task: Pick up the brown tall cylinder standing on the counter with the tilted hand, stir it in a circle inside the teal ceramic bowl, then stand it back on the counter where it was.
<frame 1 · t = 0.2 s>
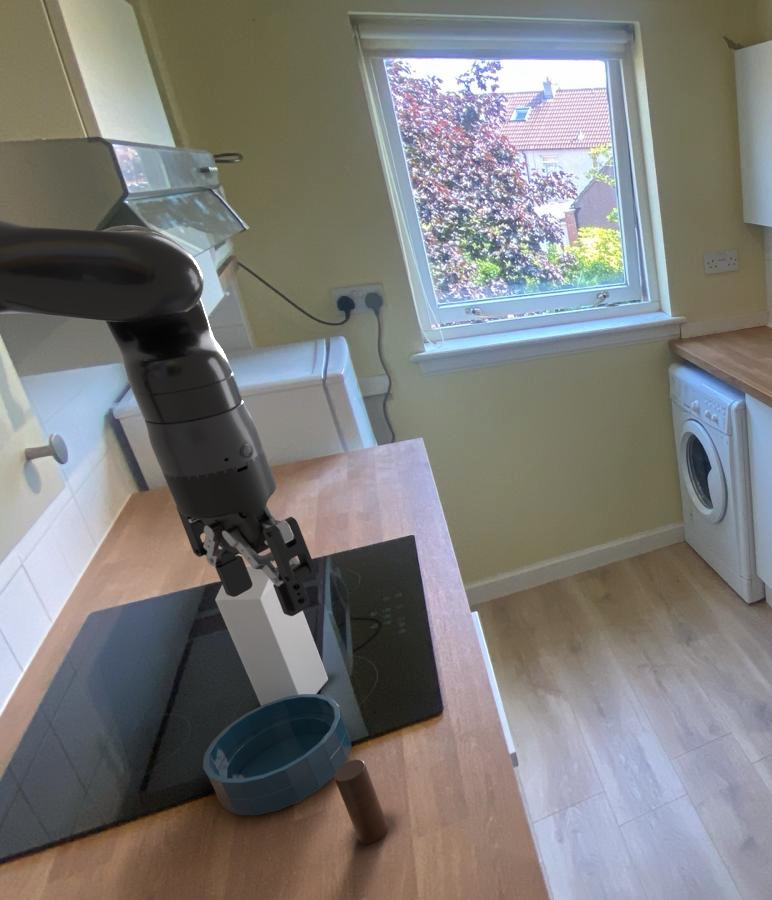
hand: (269, 601, 73), 31 cm above the worktop, tool pointing down, fingers open, 8 cm apart
brown tall cylinder: (373, 832, 85), on the worktop
bowl: (289, 770, 93), on the worktop
milk: (296, 695, 106), on the worktop
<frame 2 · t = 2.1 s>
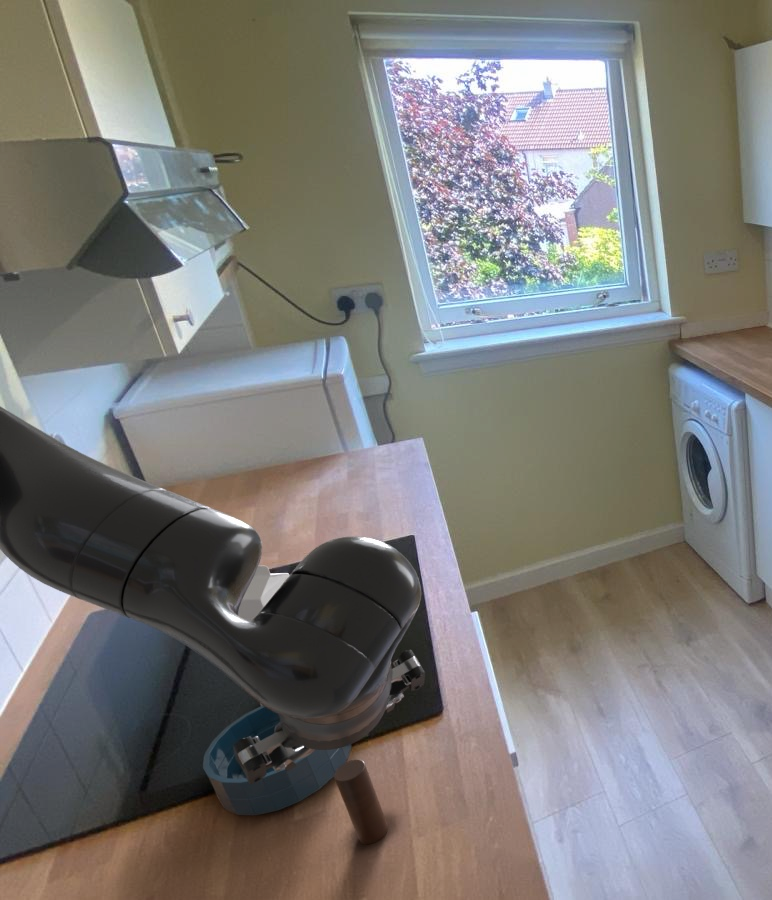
hand: (336, 729, 68), 23 cm above the worktop, tool tilted 45°, fingers open, 8 cm apart
nothing on the worktop moved.
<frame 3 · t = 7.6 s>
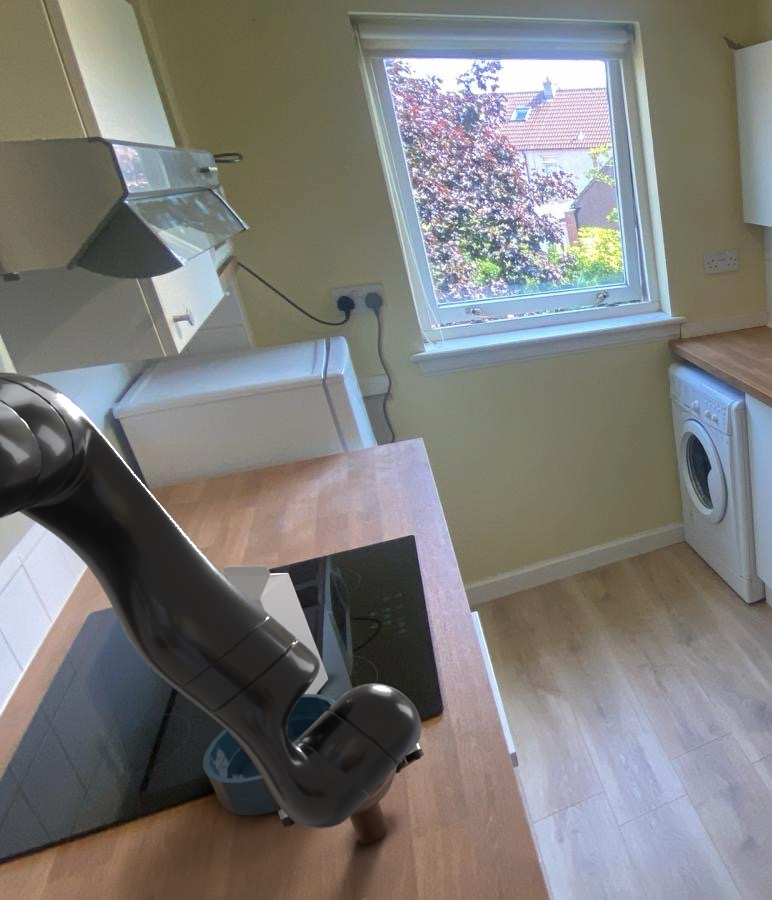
hand: (354, 785, 83), 6 cm above the worktop, tool tilted 45°, fingers closed on brown tall cylinder, 3 cm apart
brown tall cylinder: (373, 832, 85), on the worktop, touching gripper
everything else where it was.
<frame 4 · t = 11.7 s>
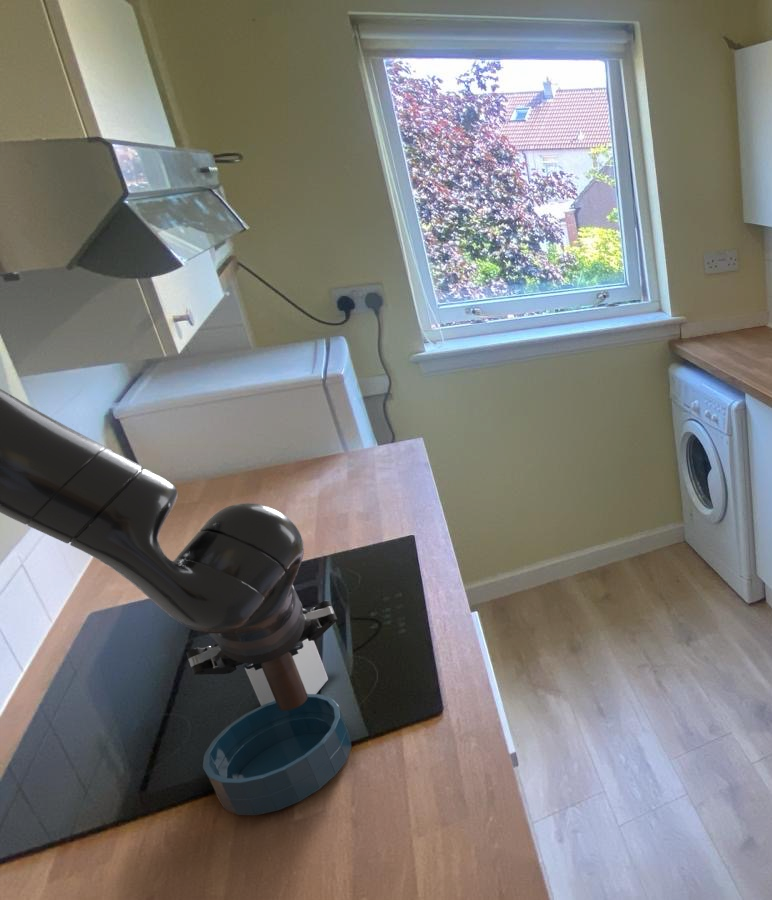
hand: (274, 654, 87), 18 cm above the worktop, tool tilted 45°, fingers closed on brown tall cylinder, 3 cm apart
brown tall cylinder: (293, 701, 88), point 12 cm above the worktop, touching gripper
everything else where it was.
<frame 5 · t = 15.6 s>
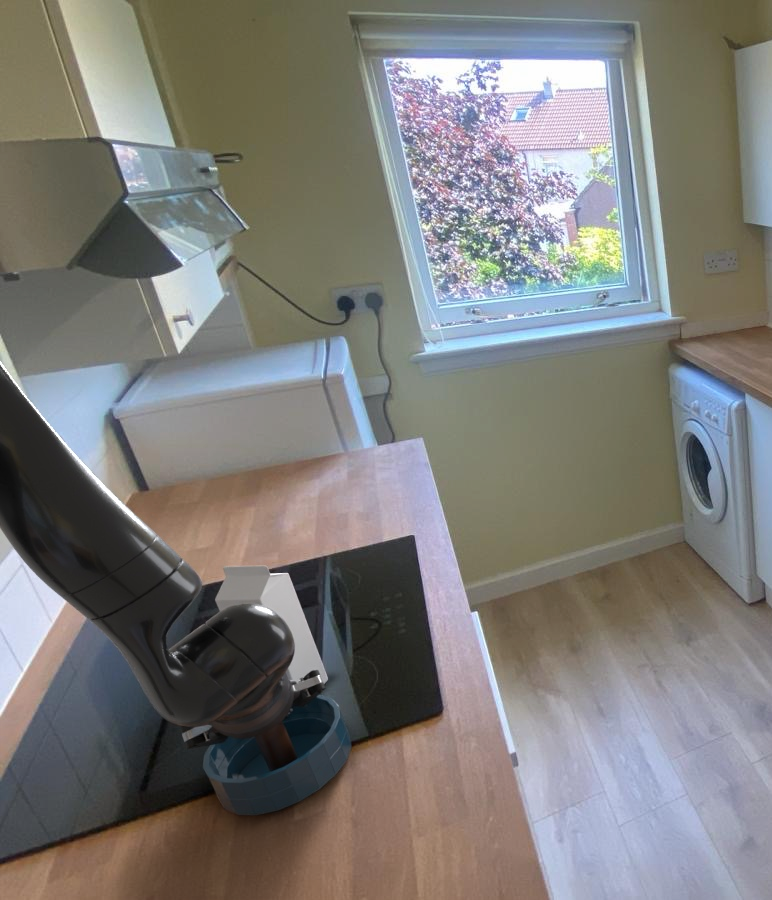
hand: (265, 719, 90), 9 cm above the worktop, tool tilted 45°, fingers closed on brown tall cylinder, 3 cm apart
brown tall cylinder: (284, 764, 91), point 3 cm above the worktop, touching gripper
everything else where it was.
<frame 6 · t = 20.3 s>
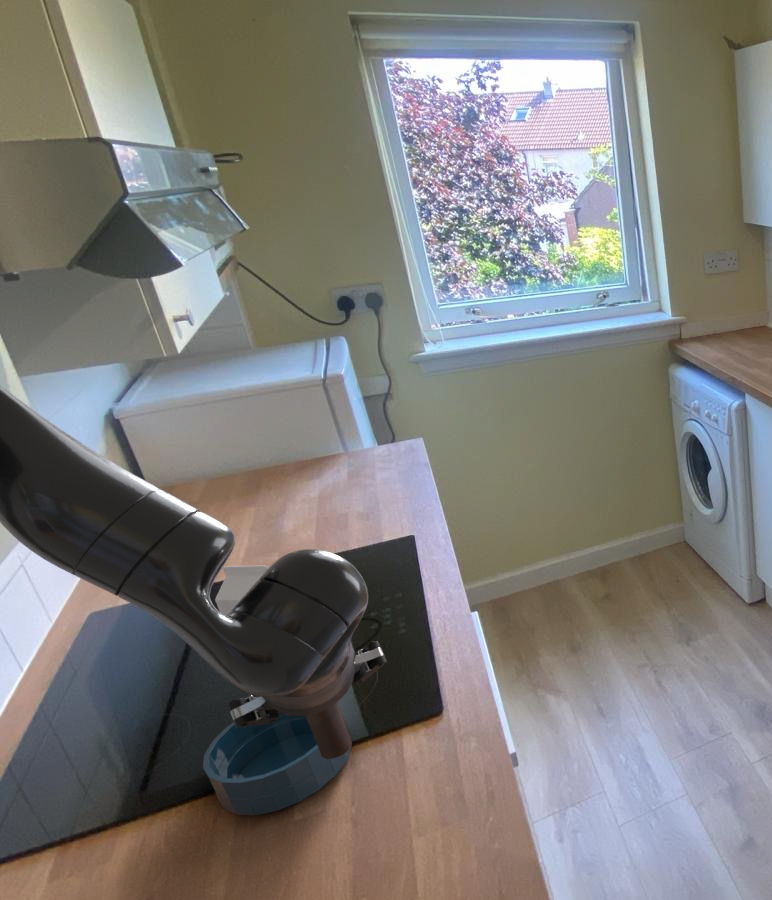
hand: (316, 698, 80), 18 cm above the worktop, tool tilted 45°, fingers closed on brown tall cylinder, 3 cm apart
brown tall cylinder: (336, 748, 81), point 12 cm above the worktop, touching gripper
everything else where it was.
when the fingers open (6 cm above the worktop, at t = 23.9 s): brown tall cylinder stays where it is, on the worktop.
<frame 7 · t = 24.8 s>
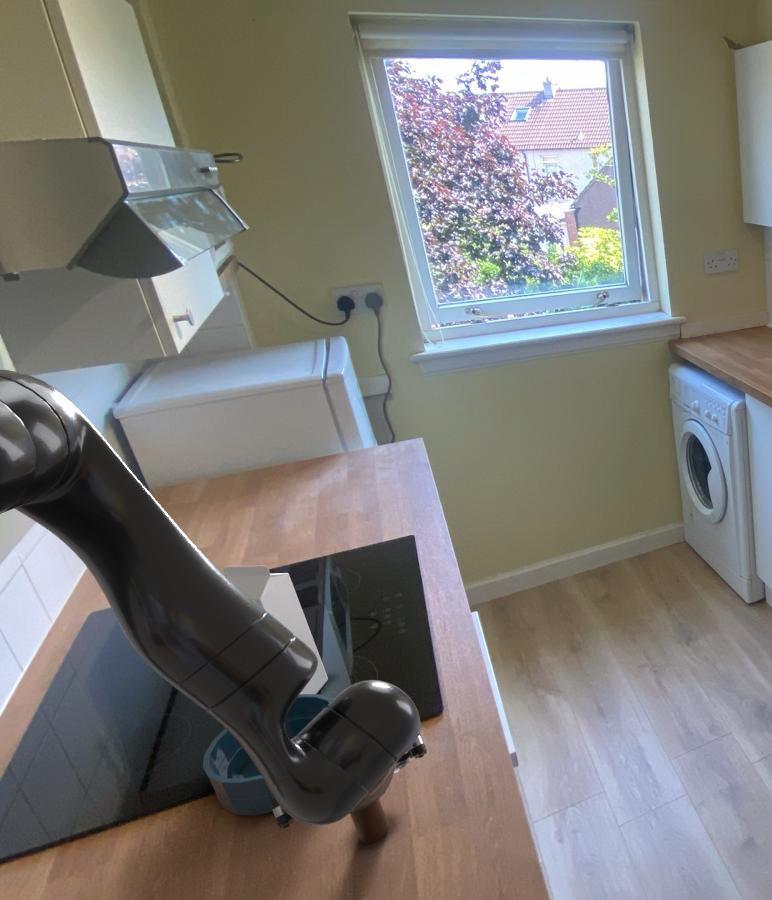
hand: (353, 782, 83), 7 cm above the worktop, tool tilted 45°, fingers open, 8 cm apart
brown tall cylinder: (374, 832, 85), on the worktop
everything else where it was.
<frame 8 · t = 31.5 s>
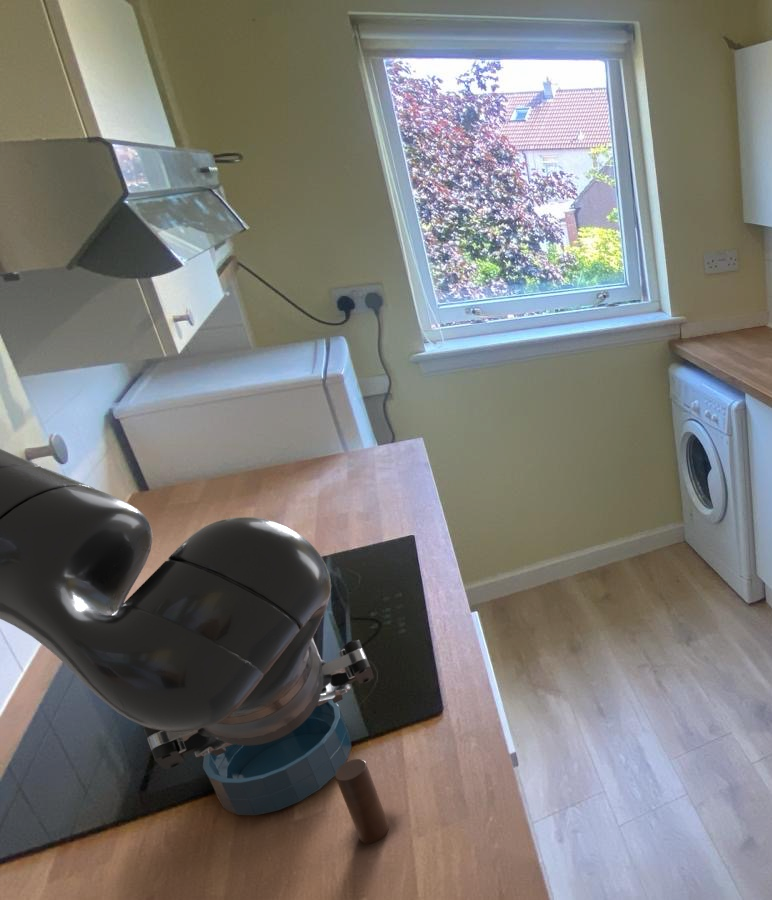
hand: (277, 715, 63), 29 cm above the worktop, tool tilted 45°, fingers open, 8 cm apart
nothing on the worktop moved.
at the end: brown tall cylinder inside the target area (0.1 cm from its centre), on the worktop; brown tall cylinder tilted 0°; the gripper is holding nothing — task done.
